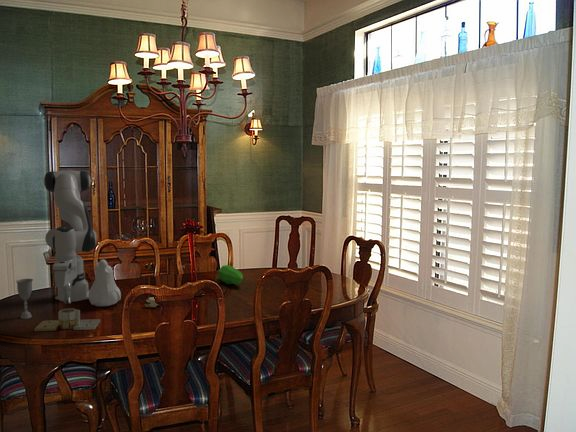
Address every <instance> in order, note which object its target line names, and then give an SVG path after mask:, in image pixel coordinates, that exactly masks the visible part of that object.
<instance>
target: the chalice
mask: <svg viewBox="0 0 576 432" xmlns="http://www.w3.org/2000/svg"><path fill="white" fill-rule="evenodd" d="M33 280H34V279H33V278H21V279H17V280H15V283H16V286H17V288H16V290H17V293H18V295H19V297H20V298H21V300H23V305H24V306H23V308H24V311H23V312H22V313H21V315H20V319H26V320H27V319H30V318H32V317H33V315H32V313H31V312H30V311H28V302H27V300H29V298H30V296H31V294H32V291H33Z"/></svg>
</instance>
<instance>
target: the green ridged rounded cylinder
mask: <svg viewBox="0 0 576 432" xmlns="http://www.w3.org/2000/svg"><path fill="white" fill-rule="evenodd" d="M243 278H244V277H243V273H242V272H241V271H240V270H238V269H236V268H235V267H234V266H232V265H229V264H225V265H222V266H221V268H220V269H218V279H219V280H220V281H222V282H224V284H227V285H240V284H241V282H243Z"/></svg>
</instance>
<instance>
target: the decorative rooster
mask: <svg viewBox="0 0 576 432" xmlns="http://www.w3.org/2000/svg"><path fill="white" fill-rule="evenodd" d="M94 277H95V279H94V281H93V283H92V285H91V287H89V299H88V300H89V302H90V304H91V305H92V306H95V307H109V306H112V305H115V304H117V302H119V301H121V299H122V298H121V296H122V292H121V290H120V288H119V287H118V286H117V284H116V281H115V278H114V271H113V268H112V267H111V266H110V265H109V264H108V262H107V260H106V259H100V260H99V261H98V262H95V265H94Z"/></svg>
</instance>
